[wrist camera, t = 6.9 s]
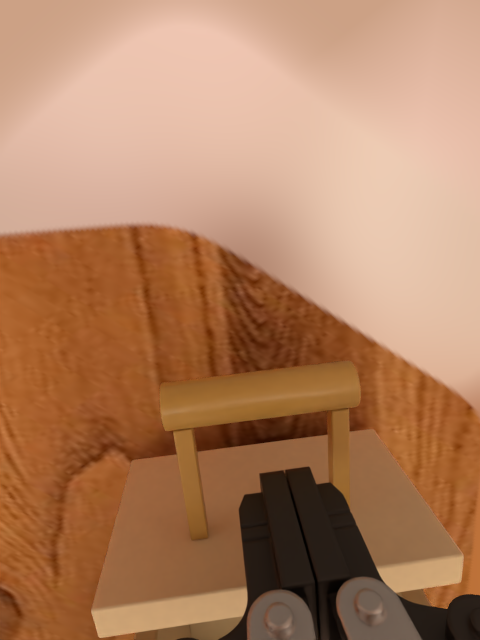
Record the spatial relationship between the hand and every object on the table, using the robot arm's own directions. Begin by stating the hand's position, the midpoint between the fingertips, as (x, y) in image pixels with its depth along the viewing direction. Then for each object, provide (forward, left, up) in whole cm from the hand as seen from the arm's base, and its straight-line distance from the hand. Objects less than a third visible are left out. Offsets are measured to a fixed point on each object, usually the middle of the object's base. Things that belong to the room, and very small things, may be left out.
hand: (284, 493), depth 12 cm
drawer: (+5, +4, -6) cm, 9 cm away
